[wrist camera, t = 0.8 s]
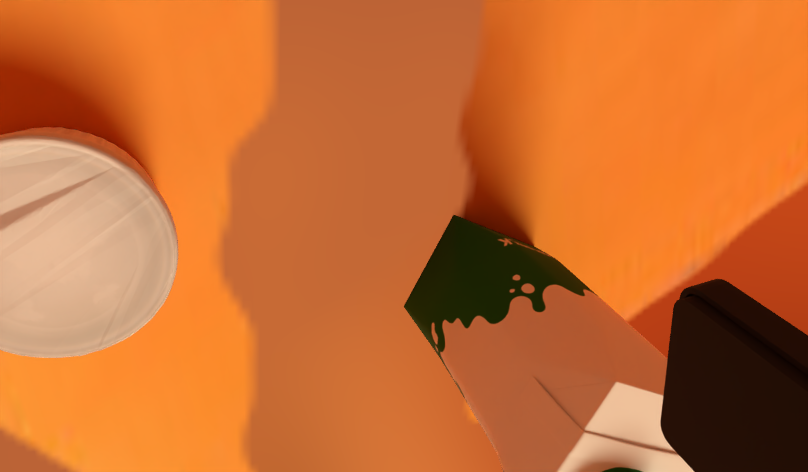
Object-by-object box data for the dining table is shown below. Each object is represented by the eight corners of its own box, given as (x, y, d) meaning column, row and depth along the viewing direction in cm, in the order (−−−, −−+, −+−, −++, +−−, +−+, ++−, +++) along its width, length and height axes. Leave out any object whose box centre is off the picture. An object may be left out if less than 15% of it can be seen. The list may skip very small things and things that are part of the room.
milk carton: (385, 313, 43) (525, 576, 26) (449, 194, 41) (650, 398, 24) (489, 344, 47) (669, 589, 30) (552, 237, 45) (788, 437, 28)
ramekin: (-8, 63, 30) (-39, 89, 26) (214, 169, 36) (221, 206, 31) (-98, 257, 33) (-141, 312, 28) (123, 330, 38) (117, 386, 33)
